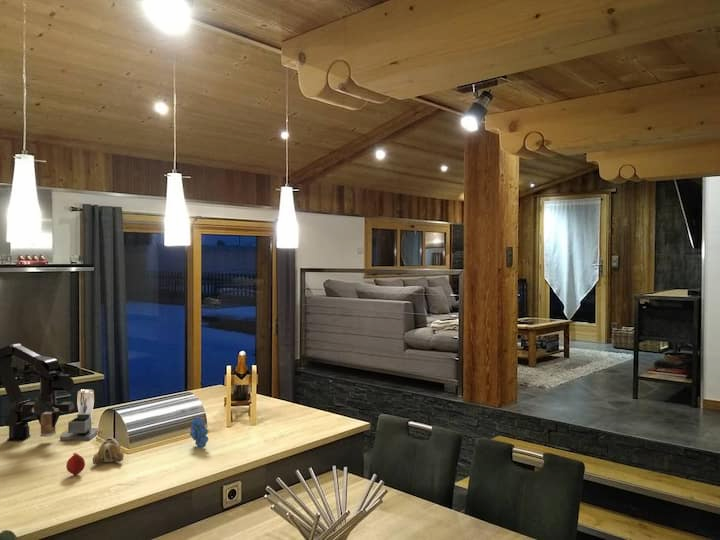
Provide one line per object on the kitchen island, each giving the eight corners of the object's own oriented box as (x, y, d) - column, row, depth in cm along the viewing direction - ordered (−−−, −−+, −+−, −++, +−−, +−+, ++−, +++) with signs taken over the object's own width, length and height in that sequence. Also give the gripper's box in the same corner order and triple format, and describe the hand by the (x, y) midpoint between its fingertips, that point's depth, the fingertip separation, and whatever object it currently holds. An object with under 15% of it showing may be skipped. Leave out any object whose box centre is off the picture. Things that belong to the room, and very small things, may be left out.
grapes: (182, 445, 237) (182, 416, 236) (197, 441, 241) (198, 413, 241) (196, 452, 228) (196, 422, 228) (212, 448, 233) (212, 419, 233)
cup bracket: (60, 440, 241) (60, 420, 240) (72, 431, 252) (72, 412, 252) (89, 440, 241) (89, 419, 241) (100, 431, 253) (100, 412, 253)
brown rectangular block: (40, 436, 236) (40, 414, 236) (45, 433, 240) (45, 411, 240) (51, 436, 236) (51, 414, 236) (55, 433, 240) (55, 411, 240)
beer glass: (77, 422, 266) (77, 390, 266) (93, 420, 269) (94, 388, 269) (76, 426, 260) (77, 393, 260) (94, 424, 263) (94, 392, 262)
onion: (80, 470, 207) (80, 448, 207) (87, 474, 204) (87, 452, 204) (63, 475, 203) (63, 452, 203) (71, 479, 199) (71, 456, 199)
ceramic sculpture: (125, 430, 226) (123, 445, 212) (125, 452, 227) (123, 467, 213) (95, 433, 223) (91, 448, 209) (95, 455, 224) (91, 471, 210)
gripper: (14, 394, 229) (14, 433, 229) (63, 394, 230) (63, 433, 231) (28, 388, 240) (28, 425, 240) (74, 388, 241) (74, 425, 242)
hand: (48, 427), depth 238 cm, fingers closed on brown rectangular block, 4 cm apart
